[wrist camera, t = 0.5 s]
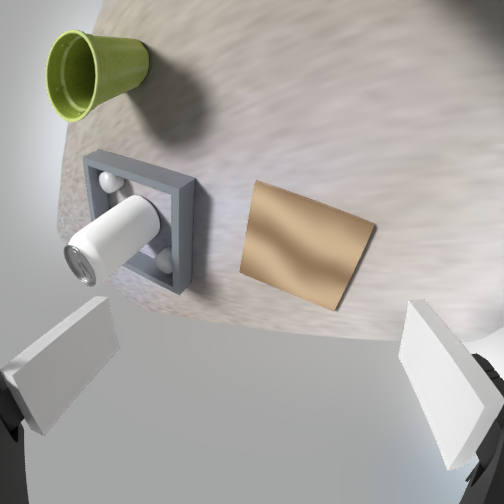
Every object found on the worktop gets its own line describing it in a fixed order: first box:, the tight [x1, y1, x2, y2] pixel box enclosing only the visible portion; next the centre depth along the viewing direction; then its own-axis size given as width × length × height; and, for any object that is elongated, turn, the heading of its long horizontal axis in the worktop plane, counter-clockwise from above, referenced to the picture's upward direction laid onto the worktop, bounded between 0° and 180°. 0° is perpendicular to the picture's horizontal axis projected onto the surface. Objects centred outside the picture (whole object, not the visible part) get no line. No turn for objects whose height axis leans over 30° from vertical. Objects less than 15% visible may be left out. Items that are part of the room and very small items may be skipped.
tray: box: [83, 150, 195, 295], centre depth 38 cm, size 16×16×3 cm
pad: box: [240, 181, 374, 311], centre depth 32 cm, size 12×12×1 cm
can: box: [64, 195, 160, 286], centre depth 35 cm, size 6×6×12 cm
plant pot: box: [46, 30, 149, 122], centre depth 24 cm, size 9×9×9 cm
